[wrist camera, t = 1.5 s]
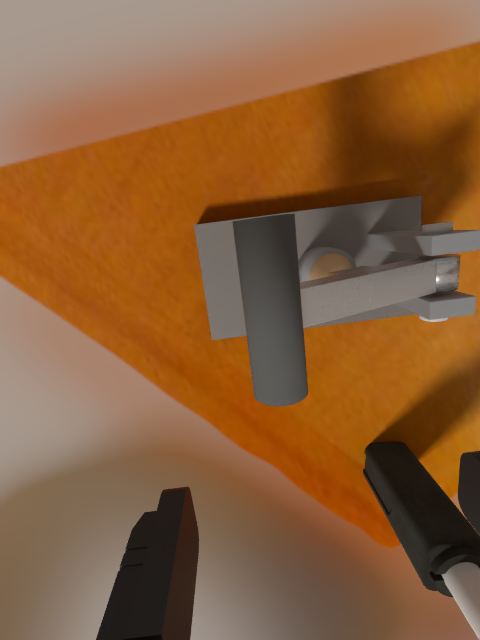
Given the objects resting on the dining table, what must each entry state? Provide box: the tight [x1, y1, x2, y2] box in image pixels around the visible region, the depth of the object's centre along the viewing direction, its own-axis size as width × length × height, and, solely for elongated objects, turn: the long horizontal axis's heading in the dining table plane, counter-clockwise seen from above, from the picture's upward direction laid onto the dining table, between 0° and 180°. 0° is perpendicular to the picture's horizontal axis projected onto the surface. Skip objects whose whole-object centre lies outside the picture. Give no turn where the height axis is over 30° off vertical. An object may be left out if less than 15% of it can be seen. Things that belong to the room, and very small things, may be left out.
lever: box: [232, 214, 460, 406], centre depth 20 cm, size 16×10×4 cm, turn 97°
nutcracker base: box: [194, 195, 480, 340], centre depth 26 cm, size 20×11×12 cm, turn 97°
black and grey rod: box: [363, 442, 480, 640], centre depth 27 cm, size 5×5×25 cm
